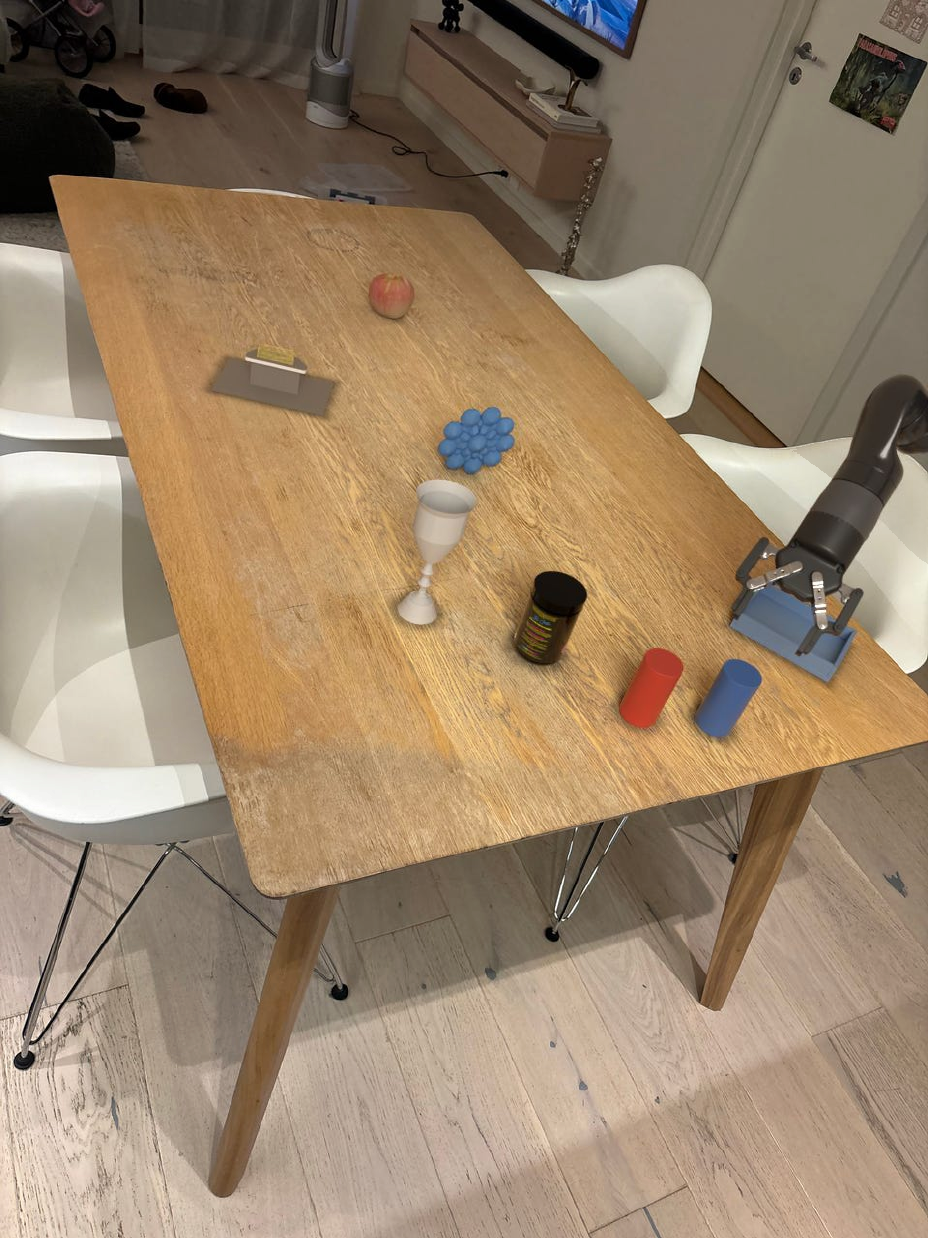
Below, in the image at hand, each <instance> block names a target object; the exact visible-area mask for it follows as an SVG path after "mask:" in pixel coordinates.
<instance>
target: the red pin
mask: <svg viewBox="0 0 928 1238" xmlns="http://www.w3.org/2000/svg"><path fill="white" fill-rule="evenodd" d="M637 667H638V668H637V669H636V671H635V673H634V675H633V677H632V679H631V682H630V683H629V685H628V687H627V689H626V691H625V694H624V695H623V697H622V699H621V702H620V704H619V707H618V708H619V713H620V715H621V717H622V718H623V719H624V720H625V721H626V722H627V723H629V724H630V725H632V726H634V727H637V728H642V729H647V728H650V727H653V726H654V725H655V724H656V723H657V721H658V719H659V717H660V715H661V713H662V711H663V710H664V707H665V706H666V704H667V702H668V700H669V699H670V696H671V695H672V693H673V691H674V689H675V688H676V685H677V684H678V682H679V680H680V678H681V676H682V674H683V672H684V670H685V669H684V663H683V661H682V659H681V658H680V657H679V656H677V655H676V654H675V653H674V652H672V651H670V650H668V649H666V648H661V647H652V648H649V649H647V650H646V651H645V652H644V655H643V656H642V659H641V661H640V663H639V665H638V666H637Z"/></svg>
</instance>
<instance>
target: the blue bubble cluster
mask: <svg viewBox="0 0 928 1238" xmlns="http://www.w3.org/2000/svg"><path fill="white" fill-rule="evenodd" d="M514 429H515V421H514V420H513V418H511V417H509V416H504V417H502V412H501V410H500V409H499V408H498V407H497V406H490V407H487V408H486V409H484V410H483V412H482V413H481V412H480V410H479V409H477V408H468V409H466V410H464V411H463V412H462V414H461V415H460V421H458V420H453V421H450V422H448V423H447V424H446V425H445V426H444V427H443V429H442V430H443V431H442V433H443V436H444V437H445V438H444V439H443V440H441V441H440V442H439V443H438V444H437V453H438V454H439V456H441V457H445V462H444V464H445V467H446V468H447V469H448V470H450V471H456V470H459V469H460V468H462V470H463V471H464V473H465V474H468V475H474V474H476V473H478V472H479V471H481V469H482V468H483V466H485V467H486V468H494V467H496V466H497V465H499V464H500V463H501V461H502V459H503V454H502V453H506V452H509V451H510V450H511V449H512V448H513V447H514V446H515V438H514V436H513V434H511V433H512V432H513V430H514Z"/></svg>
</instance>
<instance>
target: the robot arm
mask: <svg viewBox="0 0 928 1238" xmlns="http://www.w3.org/2000/svg"><path fill="white" fill-rule="evenodd" d="M857 420H858V421H857V423H856V426H855V429H854V432H853V436H852V438H851V442H850V446H849V449H848V453H847V455H846V457H845V459H844V460H843V461H842V463H841V464H840V466H839V468H838V469H837V470H836V472H835V474H834V475H833V477H832V478H831V479H830V482H829V483H828V485H826V487H825V488H824V489H823V490H822V492H820V494H819V495H818V496H817V498H816V499H815V501H814V502H813V504H812V505H811V507H810V508H809V510H808V512H807V513H806V515H805V516H804V518H803V520H802V521H801V523H800V524H799V526H798V527H797V529H796V530H795V532H794V534H793V535H792V537H791V539H790V540H789V541H788V543H787V544H786V545H785V546H784V547H782V548H779V547H778V546H775V545H774V544H773V543H770V540H769V538H768V537H766V536H762V537H760V538H759V540H758V541H756V543H755V544H754V546H753V548H752V549H751V550H750V551H749V553H748V554H747V555H746V557H745V558H744V560H743V561H742V563H740V565H739V567H738V568H737V570H736V571H735V576H734V578H735V581H736V582H738V583H739V584H740V585H741V587H742V589H741V591H740V592H739V594H738V596H737V597H736V599H735V600H734V602H733V604H732V605H731V613H733V614H732V617H731V618H732V619H735V620H738V619H739V617H740V616H741V614H742V613H743V611H744V609H745V608H746V606H747V605H748V603H749V602H750V600H751V599H752V597H753V594H754V592H757V591H759V590H762V589H765V588H770V587H772V586H777V587H778V588H780V589H781V590H782V591H783V592H785V593H788V594H791V595H793V596H794V597H796V598H797V599H798V600H800V601H801V602H803V603H804V602H805V603H810V605H811V610H812V614H813V620H814V626H812V628H811V629H810V631H809V632H808V634H807V635H806V637H805V639H804V640H803V642H802V643H801V645H800V646H799V648H798V650H797V651H796V653H795V654H796V655H797V656H799V657H800V656H801V655H802V653H804V654H805V655H807V654H808V653H810V652H811V650H812V649H813V647H814V646H815V644H816V642H817V641H818V639H819V638H820V636H821V635H822V634H824V633H828V634H832V635H834V636H839V635H840V634H841V633H842V632H843V631H844V629H845V627H846V625H847V626H848V623H849V622H850V620H851V618H852V617H853V615H854V613H855V611H856V609H857V607H858V605H859V604H860V602H861V600H862V599H863V596H864V590H863V589H862V588H860V587H856V588H854V587H852V586H850V585H847V584H845V583H843V578H844V575H845V574H846V572H847V570H848V569H849V567H850V566H851V564H852V563H853V561H854V559H855V558H856V557H857V555H858V553H859V552H860V550H861V549H862V547H863V545H864V544H865V543H866V542H867V540H868V539H869V538H870V535H871V533H872V532H873V530H874V528H875V527H876V525H877V524H878V521H879V519H880V516H881V514H882V512H883V510H884V509H885V507H886V505H887V504H888V502H889V501H890V499H891V497H892V496H893V495H894V493H895V491H896V490H897V489H898V487H899V485H900V484H901V481H902V479H903V477H904V466H903V463H902V461H901V458H900V457H899V454H898V452H899V453H900V454H903V455H905V456H921V455H926V454H928V388H927V387H926V386H925V385H924V384H923V383H922V381H921V380H919V378H917V377H916V376H914V375H911V374H909V373H898V374H895V375H894V374H893V375H892V376H889V377H887V378H886V379H884V380H882V381H880V383H879V384H878V385H877V386H876V387H874V388H873V390H871V392H870V393H869V395H868V396H867V398H866V399H865V402H864V403H863V406H862V408H861V411H860V414H859V416H858V419H857ZM770 557H774V564H775V565H774V566H775V568H774V569H773V570H770V571H767V572H765V573H763V574H761V575H759V576H755V577H754V578H752V577H751V576H750V573H751V572H752V570H753V569H754V568H755V566H756V565H757V563H758V562H759V561H760V560H762V561H766V560H768V559H769V558H770ZM837 592H839V594H840V603H841V604H842V605H843V607H842V609H841V610H840V612H839V614H838V616H837V618H836V622H830V621H828V620H827V615H828V613H827V601H826V597H828V596H830V595H833V594H836V593H837Z"/></svg>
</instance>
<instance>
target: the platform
mask: <svg viewBox="0 0 928 1238" xmlns="http://www.w3.org/2000/svg"><path fill="white" fill-rule="evenodd" d="M267 347H268V349H267ZM274 348H275V349H276V350H275V349H274ZM282 350H283V351H284V352H283V351H282ZM290 352H291V353H292V354H291V353H290ZM295 354H296V352H295V350H292V349H291V350H290V349H286V348H283V347H278V346H275V345H274V346H273V345H269V344H266V343H259V345H258V347H257V348H255V349H252V350H250V351H248V352H246V353H245V356H244V360H245V361H243V360H242V361H241V360H238V359H233V358H229V359H228V360H227V362H226V364H225V366H224V368H223V369H222V371H221V372H220V374H219V376H218V377H217V379H216V381H215V383H214V384H213V387H212V388H211V390H210V391H211V392H215V393H220V394H225V395H229V396H233V397H238V398H241V399H246V400H250V401H255V402H259V403H263V404H268V405H272V406H276V407H281V408H285V409H288V410H289V409H290V410H294V411H299V412H302V413H306V414H312V415H315V416H320V417H323V416H324V413H325V410H326V408H327V404H328V402H329V399H330V396H331V393H332V390H333V388H334V385H335V382H331V381H327V380H323V379H319V378H314V377H310V376H306V375H305V374H307V372H308V366H307V364H305V363H304V362H303V361H302V360H301V359H300V358H299V357H297V356H295ZM246 361H247V362H246ZM250 362H251V363H250ZM301 374H303V375H301Z"/></svg>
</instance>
